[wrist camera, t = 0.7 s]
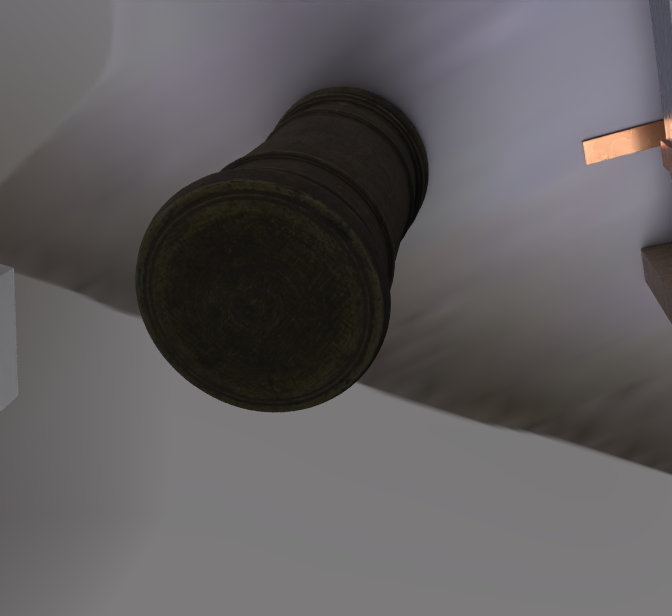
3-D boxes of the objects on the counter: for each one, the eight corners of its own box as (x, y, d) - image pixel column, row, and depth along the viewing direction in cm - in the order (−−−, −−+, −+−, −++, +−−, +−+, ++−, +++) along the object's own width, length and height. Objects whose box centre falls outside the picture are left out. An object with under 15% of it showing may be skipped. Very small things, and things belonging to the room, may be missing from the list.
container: (290, 66, 34) (131, 125, 18) (451, 114, 33) (434, 218, 18) (259, 219, 38) (108, 378, 22) (402, 264, 38) (352, 458, 22)
